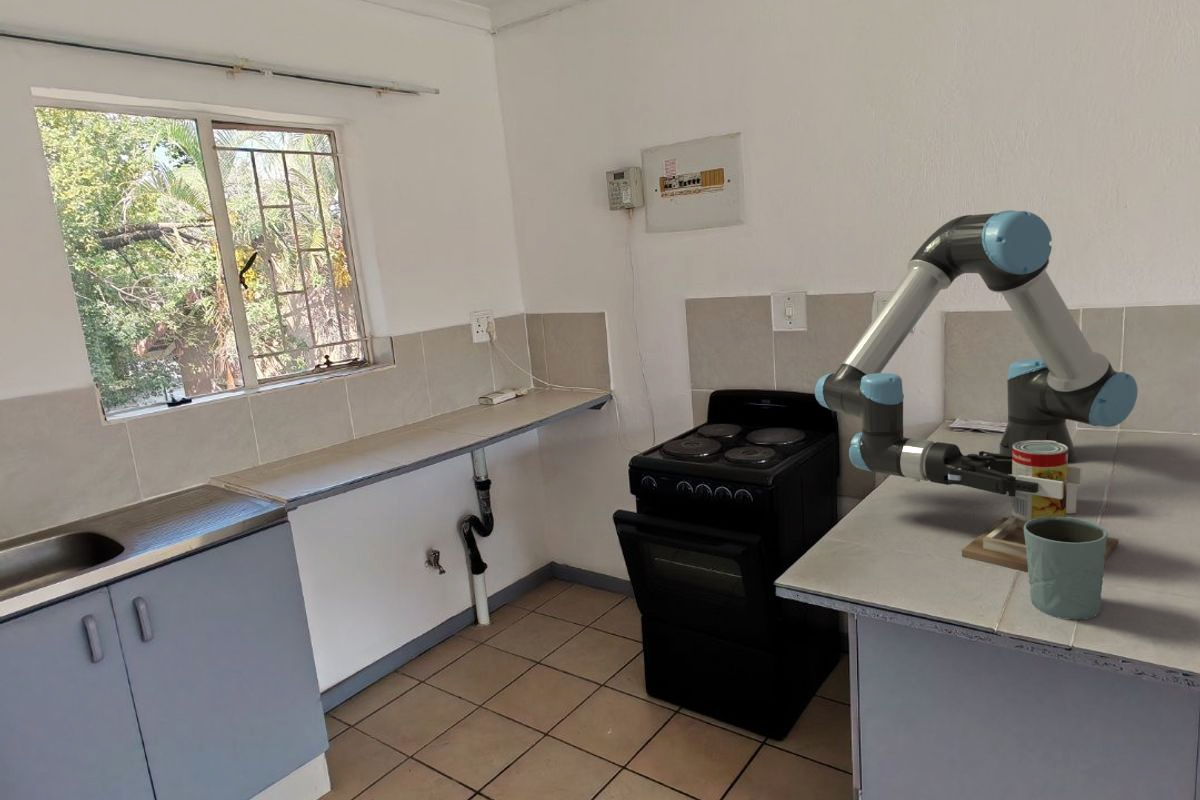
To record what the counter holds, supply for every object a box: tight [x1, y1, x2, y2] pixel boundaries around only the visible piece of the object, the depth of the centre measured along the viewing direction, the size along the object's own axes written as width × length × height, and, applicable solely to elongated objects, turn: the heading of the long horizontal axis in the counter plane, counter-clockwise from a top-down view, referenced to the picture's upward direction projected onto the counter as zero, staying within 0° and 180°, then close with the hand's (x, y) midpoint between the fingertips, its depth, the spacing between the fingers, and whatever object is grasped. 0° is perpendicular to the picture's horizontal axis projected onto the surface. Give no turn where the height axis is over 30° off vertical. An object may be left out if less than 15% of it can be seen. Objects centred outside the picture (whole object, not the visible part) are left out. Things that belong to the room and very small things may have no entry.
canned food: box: [1011, 440, 1069, 521], centre depth 123 cm, size 8×8×12 cm
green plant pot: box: [1024, 516, 1108, 620], centre depth 107 cm, size 10×10×12 cm
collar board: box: [961, 515, 1119, 573], centre depth 125 cm, size 18×18×3 cm
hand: (1071, 483), depth 119 cm, fingers closed on canned food, 8 cm apart
